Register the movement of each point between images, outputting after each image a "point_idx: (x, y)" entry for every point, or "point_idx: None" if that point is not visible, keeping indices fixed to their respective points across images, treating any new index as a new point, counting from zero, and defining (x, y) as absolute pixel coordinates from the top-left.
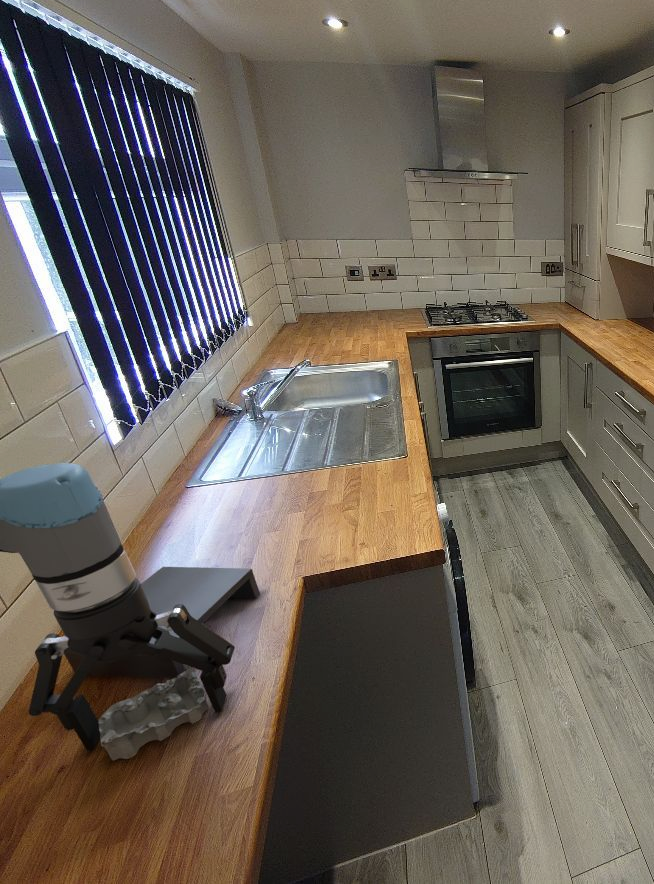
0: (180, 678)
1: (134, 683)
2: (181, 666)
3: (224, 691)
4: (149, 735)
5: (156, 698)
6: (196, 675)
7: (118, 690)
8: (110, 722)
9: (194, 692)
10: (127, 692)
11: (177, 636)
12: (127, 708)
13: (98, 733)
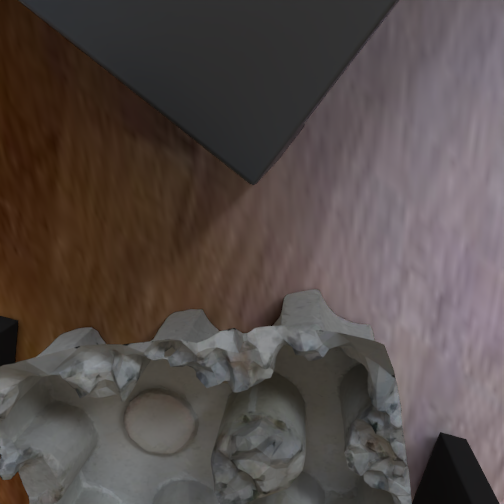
0: (310, 355)
1: (71, 53)
2: (296, 135)
3: (475, 464)
4: (187, 502)
5: (193, 337)
6: (393, 389)
7: (9, 63)
8: (29, 385)
9: (369, 481)
10: (53, 109)
11: (339, 20)
12: (80, 390)
13: (1, 361)
